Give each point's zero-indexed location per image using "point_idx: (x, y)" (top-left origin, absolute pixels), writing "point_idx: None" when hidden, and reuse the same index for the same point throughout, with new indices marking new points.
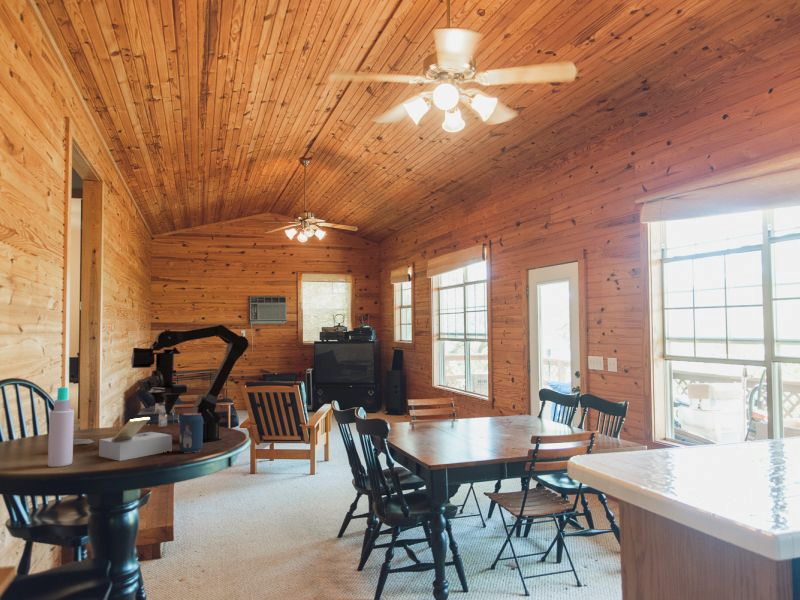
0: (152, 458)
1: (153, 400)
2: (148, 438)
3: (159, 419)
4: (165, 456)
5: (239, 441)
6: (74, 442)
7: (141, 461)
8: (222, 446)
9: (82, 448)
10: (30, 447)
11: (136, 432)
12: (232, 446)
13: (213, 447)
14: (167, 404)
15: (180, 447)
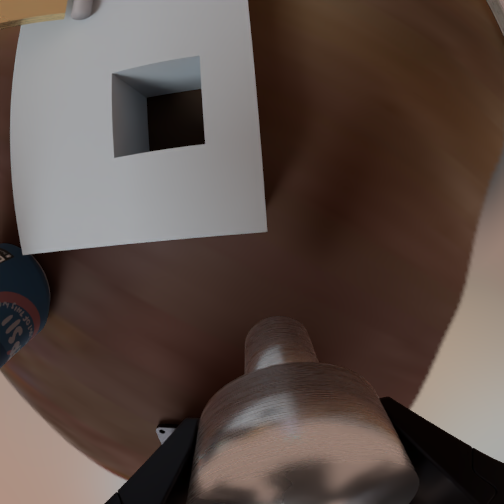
0: (9, 110)
1: (499, 465)
2: (22, 102)
3: (281, 350)
4: (3, 163)
5: (105, 463)
6: (500, 21)
7: (5, 66)
8: (50, 397)
9: (464, 26)
10: None
11: (9, 23)
12: (38, 408)
13: (48, 374)
14: (117, 496)
15: (4, 245)
